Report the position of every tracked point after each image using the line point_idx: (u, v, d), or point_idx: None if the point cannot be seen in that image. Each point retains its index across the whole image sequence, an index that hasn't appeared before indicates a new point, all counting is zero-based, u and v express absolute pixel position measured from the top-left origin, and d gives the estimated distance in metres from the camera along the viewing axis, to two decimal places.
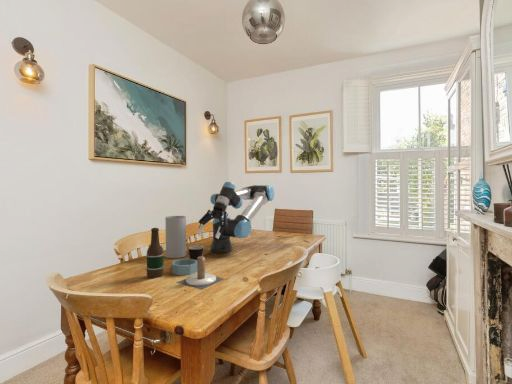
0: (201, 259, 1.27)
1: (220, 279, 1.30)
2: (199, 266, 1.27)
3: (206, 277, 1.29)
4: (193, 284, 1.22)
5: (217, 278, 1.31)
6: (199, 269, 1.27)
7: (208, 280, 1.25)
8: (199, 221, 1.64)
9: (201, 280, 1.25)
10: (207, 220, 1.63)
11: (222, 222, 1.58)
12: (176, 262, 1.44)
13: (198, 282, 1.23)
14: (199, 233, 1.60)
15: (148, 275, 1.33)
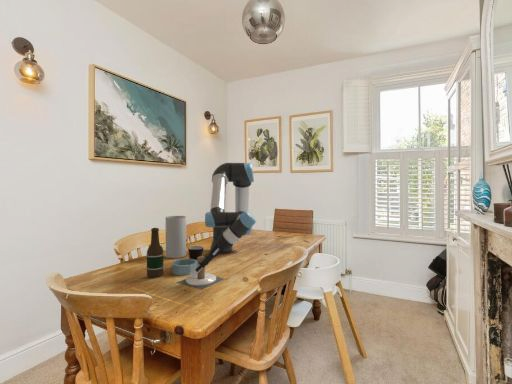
0: (201, 259, 1.27)
1: (220, 279, 1.30)
2: None
3: (206, 277, 1.29)
4: (193, 284, 1.22)
5: (217, 278, 1.31)
6: None
7: (208, 280, 1.25)
8: (204, 266, 1.24)
9: (201, 280, 1.25)
10: None
11: None
12: (176, 262, 1.44)
13: (198, 282, 1.23)
14: None
15: (148, 275, 1.33)
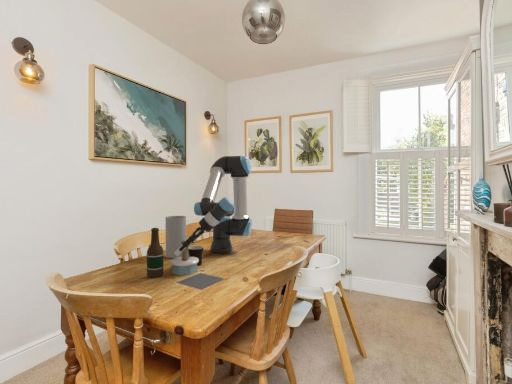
0: (185, 243, 1.41)
1: (220, 279, 1.30)
2: None
3: (190, 259, 1.43)
4: (177, 264, 1.36)
5: (217, 278, 1.31)
6: (183, 252, 1.41)
7: (191, 261, 1.39)
8: None
9: (184, 261, 1.39)
10: None
11: None
12: None
13: (181, 263, 1.37)
14: None
15: (148, 275, 1.33)
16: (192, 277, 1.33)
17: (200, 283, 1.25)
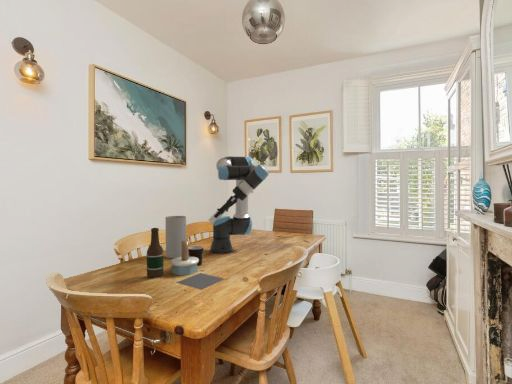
0: (185, 243, 1.41)
1: (220, 279, 1.30)
2: (183, 249, 1.41)
3: (190, 259, 1.43)
4: (177, 264, 1.36)
5: (217, 278, 1.31)
6: (183, 252, 1.41)
7: (191, 261, 1.39)
8: (223, 212, 1.28)
9: (184, 261, 1.39)
10: None
11: None
12: None
13: (181, 263, 1.37)
14: None
15: (148, 275, 1.33)
16: (192, 277, 1.33)
17: (200, 283, 1.25)
